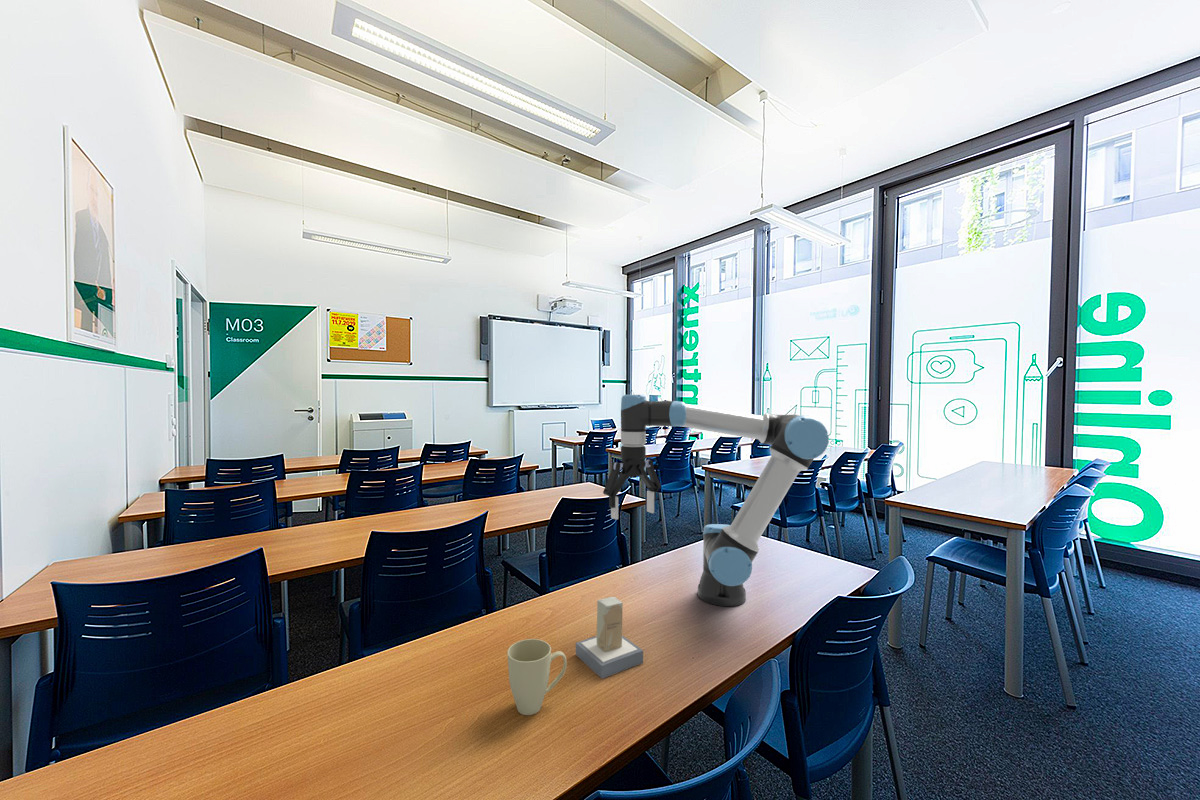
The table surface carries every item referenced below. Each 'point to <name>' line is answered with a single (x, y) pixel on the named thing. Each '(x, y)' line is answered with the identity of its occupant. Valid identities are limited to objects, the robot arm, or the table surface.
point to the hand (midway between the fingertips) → (633, 515)
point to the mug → (531, 673)
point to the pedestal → (608, 656)
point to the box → (609, 623)
